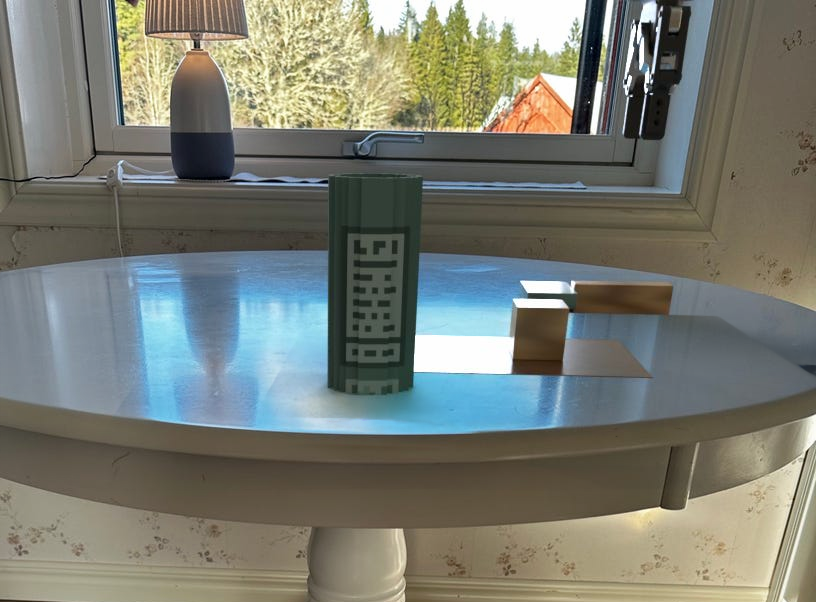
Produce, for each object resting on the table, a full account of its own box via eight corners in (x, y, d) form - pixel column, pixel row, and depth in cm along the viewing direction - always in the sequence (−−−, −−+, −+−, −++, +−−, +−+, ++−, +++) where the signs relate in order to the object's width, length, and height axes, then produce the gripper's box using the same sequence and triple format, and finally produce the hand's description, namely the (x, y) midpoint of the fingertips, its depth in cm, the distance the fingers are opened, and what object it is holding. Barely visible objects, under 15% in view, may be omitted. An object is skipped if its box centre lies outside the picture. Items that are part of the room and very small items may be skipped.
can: (407, 393, 72) (416, 173, 65) (415, 415, 67) (426, 178, 60) (326, 393, 72) (327, 172, 65) (328, 415, 67) (329, 177, 60)
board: (616, 356, 84) (618, 339, 83) (650, 397, 72) (653, 377, 71) (389, 351, 85) (389, 334, 84) (384, 391, 73) (385, 371, 72)
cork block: (556, 350, 79) (562, 299, 77) (563, 360, 76) (569, 308, 74) (508, 349, 79) (512, 298, 78) (512, 359, 76) (517, 307, 74)
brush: (656, 312, 104) (662, 278, 102) (674, 326, 97) (680, 290, 95) (517, 309, 104) (520, 275, 103) (524, 323, 97) (528, 287, 96)
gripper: (737, -79, 79) (699, 141, 87) (694, -52, 92) (664, 138, 100) (645, -78, 80) (616, 140, 88) (615, -52, 92) (591, 137, 100)
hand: (641, 139), depth 94 cm, fingers open, 8 cm apart
